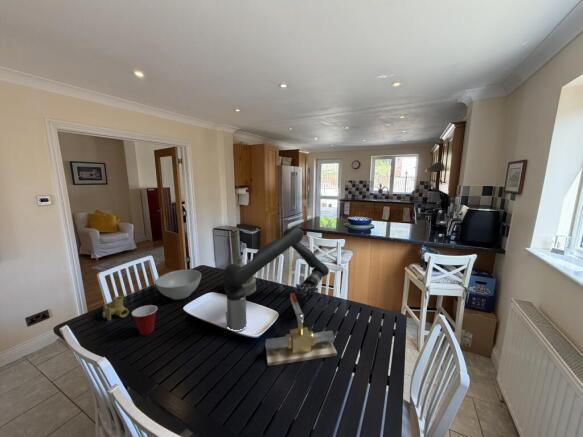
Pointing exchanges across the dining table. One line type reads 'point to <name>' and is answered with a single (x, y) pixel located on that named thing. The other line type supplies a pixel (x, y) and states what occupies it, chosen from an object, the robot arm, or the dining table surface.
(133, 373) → the dining table surface
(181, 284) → the decorative bowl
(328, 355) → the mounting board
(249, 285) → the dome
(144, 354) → the dining table surface
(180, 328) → the dining table surface
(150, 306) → the plastic cup
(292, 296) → the valve lever
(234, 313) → the robot arm
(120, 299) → the ball valve
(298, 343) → the valve line
